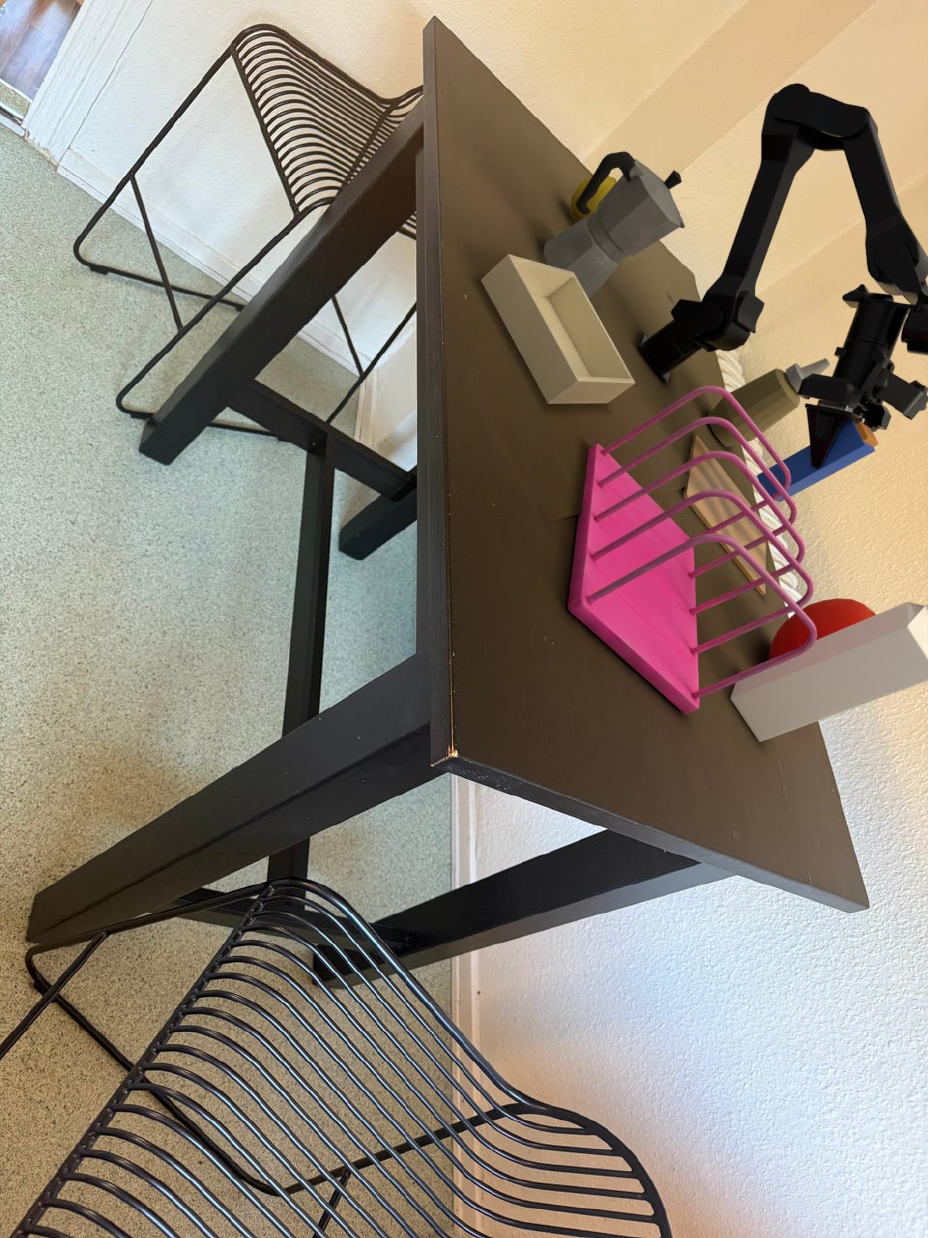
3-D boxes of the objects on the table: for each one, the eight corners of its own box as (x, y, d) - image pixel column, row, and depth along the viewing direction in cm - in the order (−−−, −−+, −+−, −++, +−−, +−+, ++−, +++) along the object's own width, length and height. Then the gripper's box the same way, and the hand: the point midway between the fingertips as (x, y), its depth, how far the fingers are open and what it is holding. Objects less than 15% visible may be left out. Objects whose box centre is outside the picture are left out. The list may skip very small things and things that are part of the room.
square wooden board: (693, 436, 118) (696, 434, 118) (763, 527, 123) (766, 525, 123) (682, 496, 104) (686, 494, 104) (761, 596, 109) (765, 594, 109)
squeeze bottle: (733, 440, 132) (841, 374, 121) (730, 461, 126) (844, 393, 115) (704, 401, 130) (812, 330, 119) (700, 420, 123) (813, 347, 113)
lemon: (583, 240, 120) (627, 200, 116) (558, 210, 118) (602, 169, 113) (584, 225, 124) (627, 187, 120) (561, 196, 122) (603, 156, 117)
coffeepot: (585, 275, 114) (697, 181, 104) (600, 324, 110) (718, 231, 99) (511, 214, 104) (627, 102, 93) (525, 265, 100) (648, 154, 89)
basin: (544, 297, 100) (573, 271, 97) (604, 405, 98) (635, 383, 96) (476, 283, 87) (508, 253, 85) (544, 406, 86) (578, 380, 84)
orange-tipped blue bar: (755, 475, 108) (857, 417, 100) (769, 479, 112) (868, 424, 104) (767, 498, 107) (870, 441, 99) (780, 502, 111) (881, 447, 103)
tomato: (801, 740, 98) (923, 696, 89) (747, 678, 94) (869, 627, 86) (796, 669, 107) (906, 624, 99) (747, 611, 103) (857, 559, 95)
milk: (738, 673, 93) (939, 585, 80) (767, 715, 93) (971, 636, 81) (728, 699, 88) (942, 610, 75) (759, 744, 89) (976, 664, 76)
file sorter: (680, 549, 96) (806, 480, 87) (683, 717, 79) (842, 652, 69) (584, 450, 89) (711, 362, 80) (565, 610, 71) (724, 522, 62)
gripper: (921, 337, 90) (866, 477, 93) (953, 374, 104) (905, 494, 107) (820, 323, 96) (773, 454, 100) (863, 359, 110) (821, 473, 114)
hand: (822, 470), depth 105 cm, fingers closed on orange-tipped blue bar, 5 cm apart
